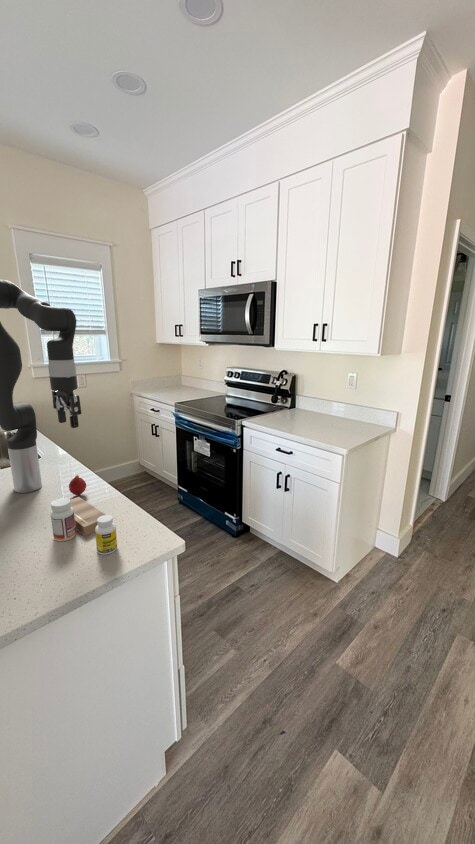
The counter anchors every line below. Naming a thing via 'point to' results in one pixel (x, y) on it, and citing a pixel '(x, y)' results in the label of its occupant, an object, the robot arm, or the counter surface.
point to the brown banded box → (85, 516)
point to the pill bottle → (63, 519)
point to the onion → (77, 486)
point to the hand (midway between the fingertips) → (68, 424)
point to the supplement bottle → (105, 535)
